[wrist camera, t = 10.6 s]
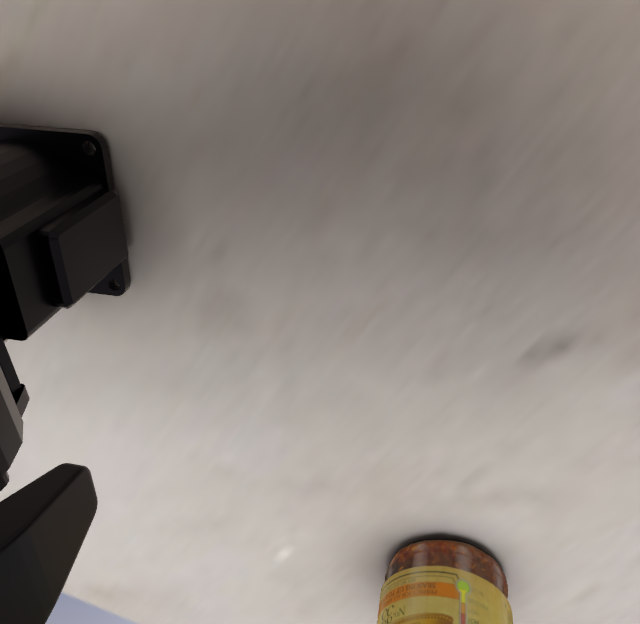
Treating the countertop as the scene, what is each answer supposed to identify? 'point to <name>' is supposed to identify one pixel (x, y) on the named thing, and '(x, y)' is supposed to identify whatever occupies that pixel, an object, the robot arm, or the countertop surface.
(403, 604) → the sauce bottle
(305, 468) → the countertop surface
